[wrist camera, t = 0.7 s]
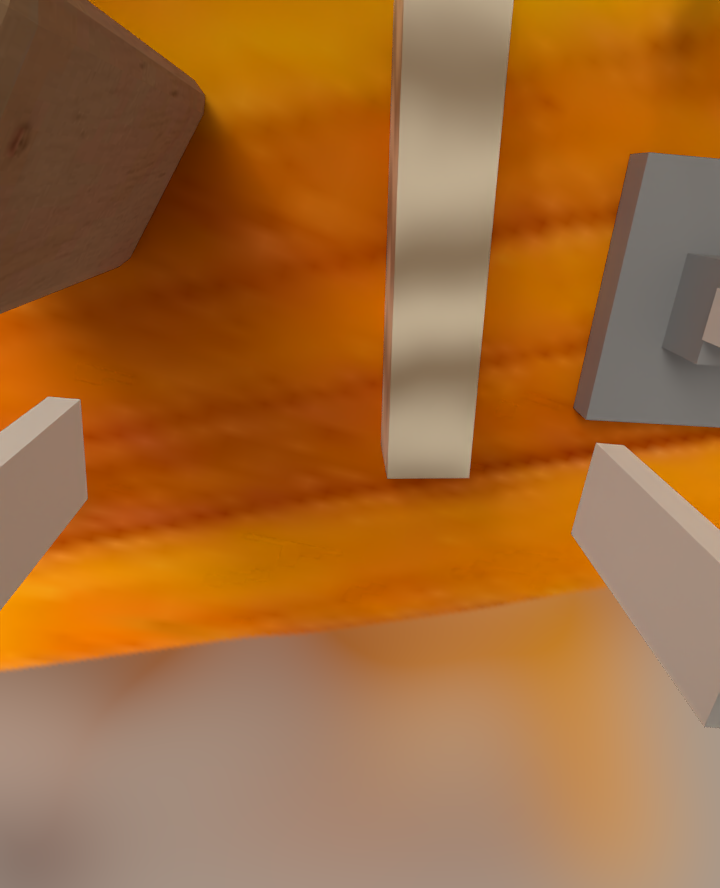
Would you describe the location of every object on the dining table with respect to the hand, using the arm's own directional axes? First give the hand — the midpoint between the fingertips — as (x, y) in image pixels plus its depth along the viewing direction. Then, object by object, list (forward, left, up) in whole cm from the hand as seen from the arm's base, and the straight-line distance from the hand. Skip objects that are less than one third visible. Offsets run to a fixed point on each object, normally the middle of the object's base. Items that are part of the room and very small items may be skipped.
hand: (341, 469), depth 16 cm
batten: (-4, +5, -21) cm, 22 cm away
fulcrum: (-2, +20, -20) cm, 28 cm away
